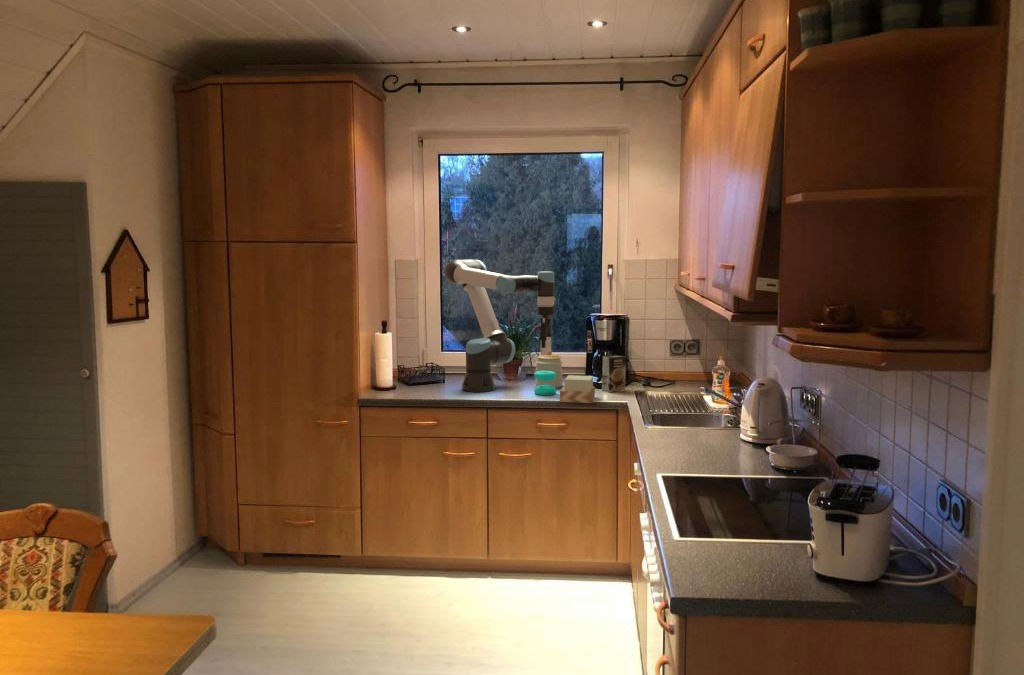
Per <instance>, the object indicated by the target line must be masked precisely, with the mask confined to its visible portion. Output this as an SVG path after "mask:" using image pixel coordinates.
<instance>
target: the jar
mask: <svg viewBox="0 0 1024 675" xmlns="http://www.w3.org/2000/svg"><path fill="white" fill-rule="evenodd" d="M536 358H537V360H536V361H535V364H536V367H535V373H536V372H537V371H553V372H555V373H556V378H555V379H553V380H550V381H541V380H538V379H536V378H535V387H537V386H540V385H550V386H553V387H555V388H556V389H558V387H559V388H562V387H563V371H564V369H563V368H562V366H563V365H562V364H563V361H562V360H561V358H562V357H561V355H559V354H557V353H553V350H551V351H547V355H541V353H540V354H539V355H537V357H536ZM561 386H562V387H561Z"/></svg>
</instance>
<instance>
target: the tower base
mask: <svg viewBox="0 0 1024 675" xmlns="http://www.w3.org/2000/svg"><path fill="white" fill-rule="evenodd" d="M594 397H595V398H596V387H595V386H593V388H592V390H591V391H590V392H582V391H565V385H562V387H561V389H560V390H559V402H560V403H562V402H563V403H582V404H583V403H584V404H587V403H588V404H593V402H594V400H593V399H595V398H594Z"/></svg>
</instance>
